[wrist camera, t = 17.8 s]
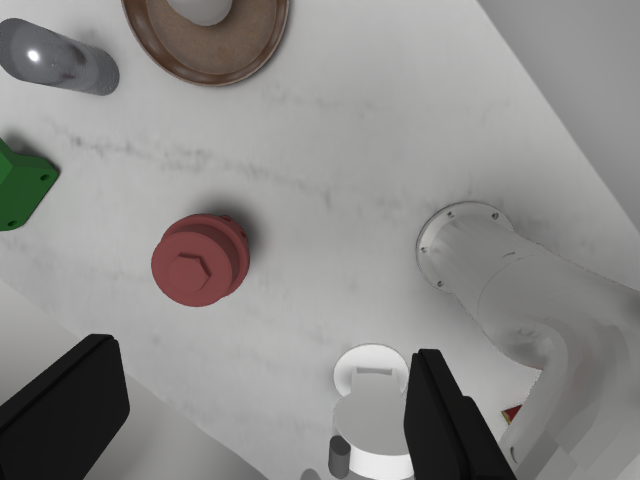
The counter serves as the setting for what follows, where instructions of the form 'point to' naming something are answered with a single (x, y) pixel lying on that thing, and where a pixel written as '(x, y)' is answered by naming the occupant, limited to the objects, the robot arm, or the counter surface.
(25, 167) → the clamp
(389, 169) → the counter surface
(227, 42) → the plant saucer
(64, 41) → the metal pillar
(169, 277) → the mechanical component
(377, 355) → the panda figurine
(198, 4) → the white ribbed cylinder
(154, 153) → the counter surface
